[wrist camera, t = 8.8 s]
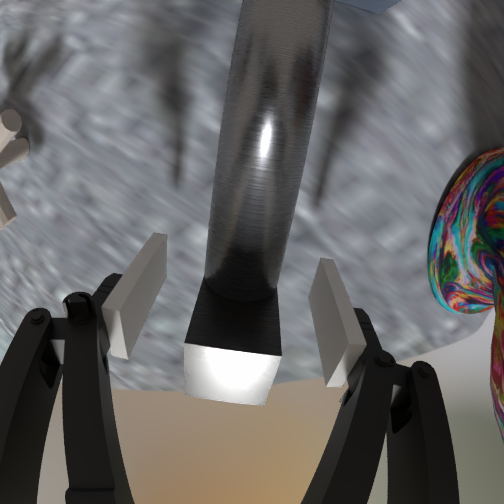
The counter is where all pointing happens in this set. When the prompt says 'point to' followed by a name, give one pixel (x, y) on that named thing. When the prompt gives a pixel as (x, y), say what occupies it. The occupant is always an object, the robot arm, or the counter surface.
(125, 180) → the counter surface
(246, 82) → the shaft
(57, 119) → the counter surface
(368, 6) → the pillow block
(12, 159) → the pipe connector
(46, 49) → the counter surface
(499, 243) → the vase
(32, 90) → the counter surface
